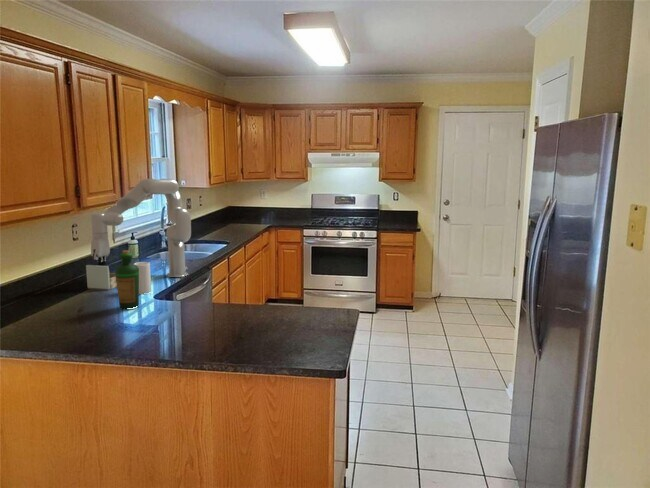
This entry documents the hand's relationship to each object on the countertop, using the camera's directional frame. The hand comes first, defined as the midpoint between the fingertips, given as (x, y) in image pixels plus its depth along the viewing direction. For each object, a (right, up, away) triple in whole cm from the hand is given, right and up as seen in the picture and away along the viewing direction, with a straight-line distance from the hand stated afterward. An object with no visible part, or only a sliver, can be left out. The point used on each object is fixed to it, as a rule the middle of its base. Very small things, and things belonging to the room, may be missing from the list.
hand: (102, 268), depth 251 cm
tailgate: (-1, -11, -2) cm, 11 cm away
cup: (+24, -13, -4) cm, 28 cm away
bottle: (+28, -18, -30) cm, 44 cm away
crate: (0, -11, +5) cm, 12 cm away
